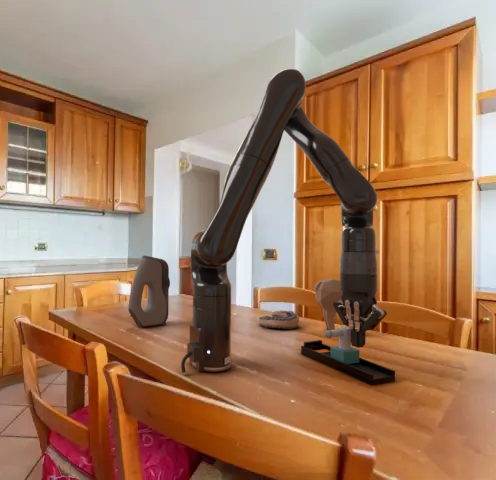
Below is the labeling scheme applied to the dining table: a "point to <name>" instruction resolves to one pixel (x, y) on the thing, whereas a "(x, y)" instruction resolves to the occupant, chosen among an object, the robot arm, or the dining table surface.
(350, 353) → the handle
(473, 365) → the dining table surface
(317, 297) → the toy
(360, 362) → the rail
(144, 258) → the brown holed slab
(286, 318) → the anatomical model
